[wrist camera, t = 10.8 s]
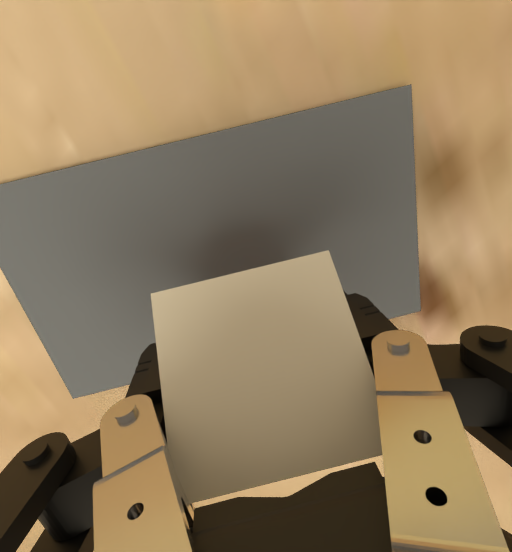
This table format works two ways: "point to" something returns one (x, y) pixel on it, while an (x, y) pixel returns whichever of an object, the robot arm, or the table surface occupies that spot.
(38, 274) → the mat
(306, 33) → the table surface
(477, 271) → the table surface
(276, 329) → the block
